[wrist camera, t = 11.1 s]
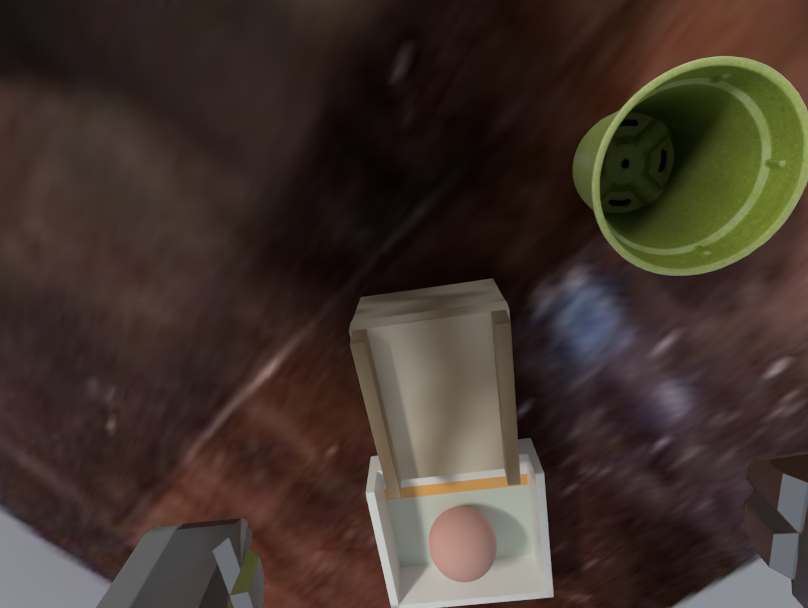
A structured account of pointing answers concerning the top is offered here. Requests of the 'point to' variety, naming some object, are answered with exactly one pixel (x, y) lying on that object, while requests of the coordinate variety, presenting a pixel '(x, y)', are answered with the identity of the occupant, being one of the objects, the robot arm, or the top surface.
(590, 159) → the plant pot
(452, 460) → the launch ramp
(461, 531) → the rubber ball
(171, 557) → the robot arm
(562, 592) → the top surface
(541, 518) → the tray
